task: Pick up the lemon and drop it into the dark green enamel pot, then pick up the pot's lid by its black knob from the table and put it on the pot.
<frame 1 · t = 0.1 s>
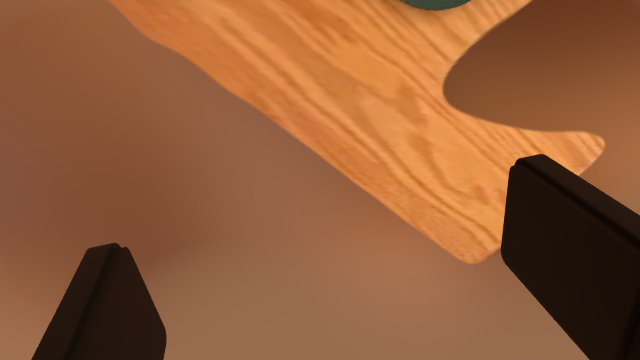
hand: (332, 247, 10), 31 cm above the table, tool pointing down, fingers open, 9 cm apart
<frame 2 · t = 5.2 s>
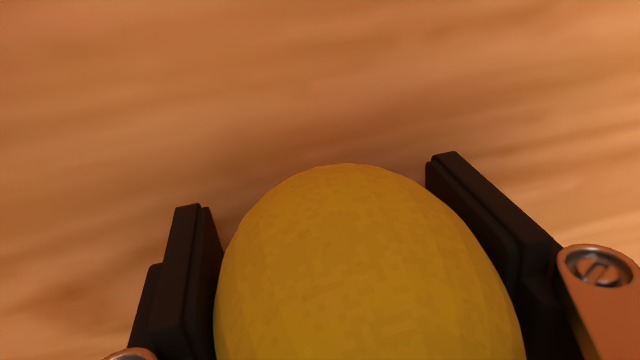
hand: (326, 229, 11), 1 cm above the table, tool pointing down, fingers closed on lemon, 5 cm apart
lemon: (318, 203, 12), on the table, touching gripper
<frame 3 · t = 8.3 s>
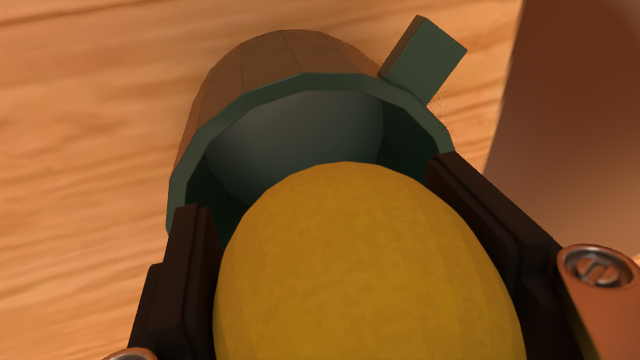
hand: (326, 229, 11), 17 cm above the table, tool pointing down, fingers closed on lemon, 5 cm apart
pot: (294, 134, 28), on the table
lemon: (318, 202, 12), point 16 cm above the table, touching gripper
when the fingers open (7 cm above the table, at t = 11.4 s): lemon drops 5 cm, resting on pot.
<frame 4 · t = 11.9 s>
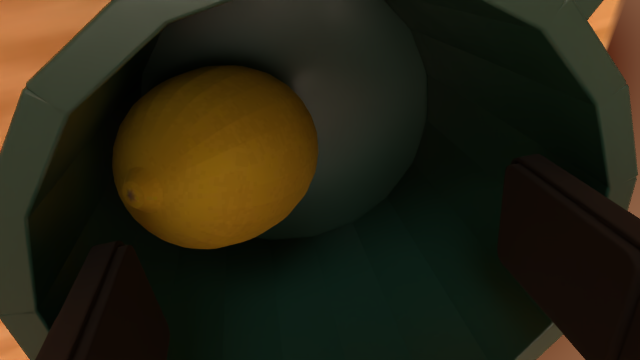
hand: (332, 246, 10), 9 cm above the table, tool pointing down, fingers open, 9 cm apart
pot: (291, 119, 18), on the table
lemon: (286, 129, 17), point 1 cm above the table, touching pot
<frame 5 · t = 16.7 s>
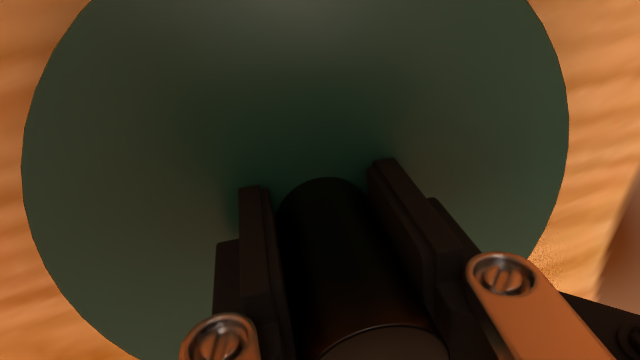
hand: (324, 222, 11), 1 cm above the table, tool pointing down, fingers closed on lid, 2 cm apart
lid: (319, 207, 12), point 1 cm above the table, touching gripper
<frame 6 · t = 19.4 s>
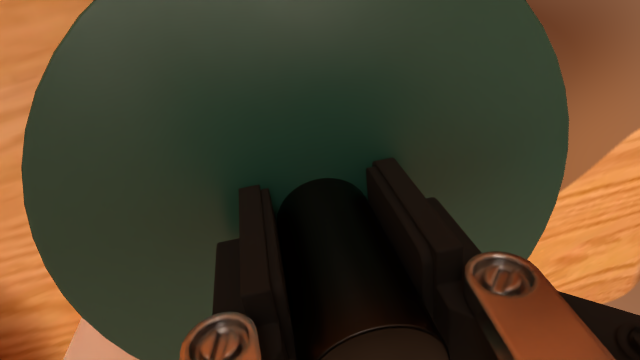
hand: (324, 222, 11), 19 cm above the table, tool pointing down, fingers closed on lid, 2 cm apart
lid: (319, 207, 12), point 18 cm above the table, touching gripper
can: (125, 316, 36), on the table
when the fingers open (11 cm above the table, at t = 22.2 s): lid stays where it is, resting on pot.
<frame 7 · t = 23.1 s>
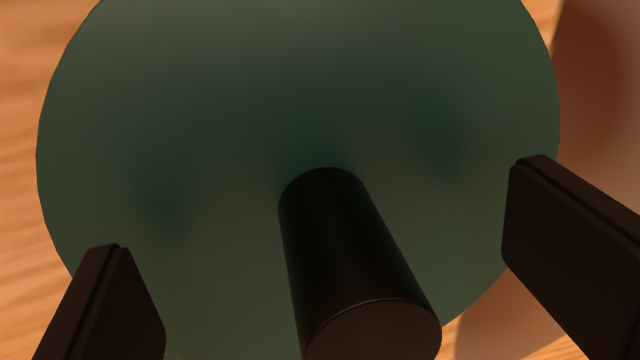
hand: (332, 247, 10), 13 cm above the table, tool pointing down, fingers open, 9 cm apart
lid: (319, 196, 12), point 10 cm above the table, touching pot
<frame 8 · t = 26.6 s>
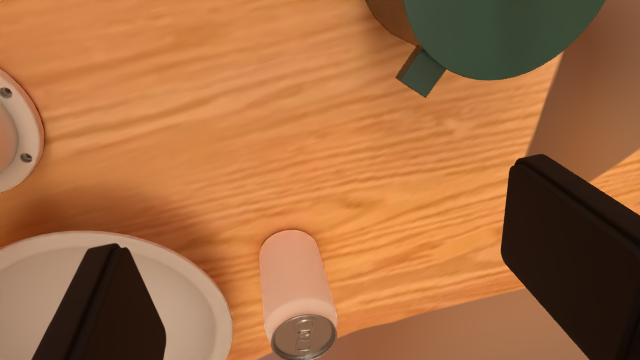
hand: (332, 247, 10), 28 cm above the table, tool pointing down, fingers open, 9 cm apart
soup bowl: (117, 289, 44), on the table
can: (288, 250, 46), on the table
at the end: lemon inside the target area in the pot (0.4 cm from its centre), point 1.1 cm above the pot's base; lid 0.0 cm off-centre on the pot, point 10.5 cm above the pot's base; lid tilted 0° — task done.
